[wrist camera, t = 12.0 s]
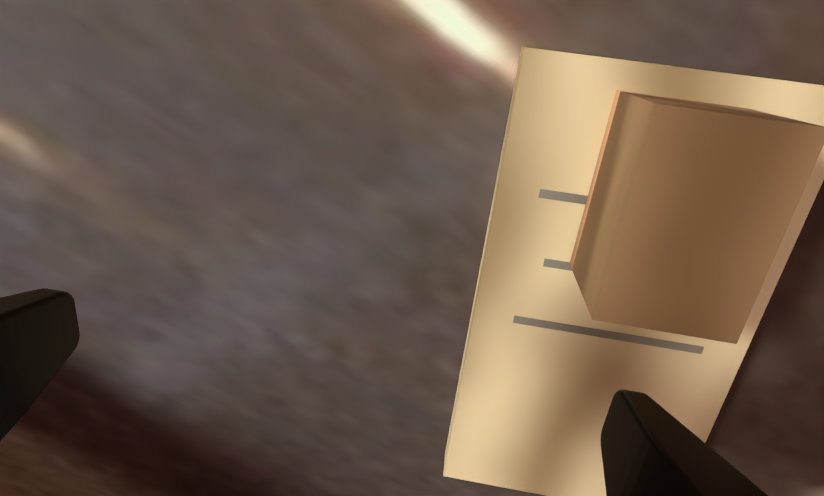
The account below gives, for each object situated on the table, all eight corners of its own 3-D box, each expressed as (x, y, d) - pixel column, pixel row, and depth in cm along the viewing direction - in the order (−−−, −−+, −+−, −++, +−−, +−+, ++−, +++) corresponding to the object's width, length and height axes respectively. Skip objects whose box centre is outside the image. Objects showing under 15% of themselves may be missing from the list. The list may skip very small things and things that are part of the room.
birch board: (445, 450, 24) (443, 476, 23) (521, 46, 17) (525, 47, 16) (659, 490, 23) (671, 519, 22) (831, 86, 16) (864, 91, 15)
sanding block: (569, 263, 18) (592, 320, 14) (616, 89, 16) (657, 103, 12) (683, 282, 18) (736, 344, 14) (748, 108, 16) (830, 128, 12)
